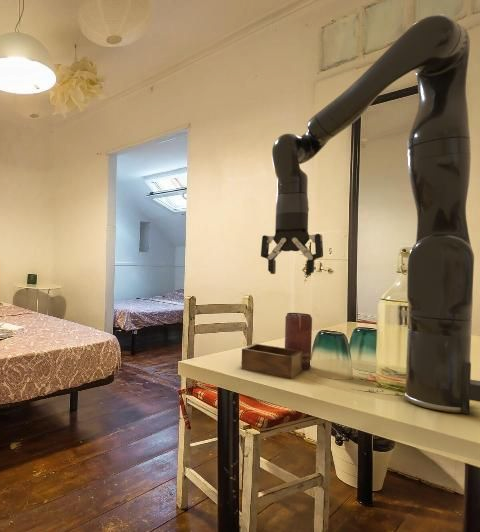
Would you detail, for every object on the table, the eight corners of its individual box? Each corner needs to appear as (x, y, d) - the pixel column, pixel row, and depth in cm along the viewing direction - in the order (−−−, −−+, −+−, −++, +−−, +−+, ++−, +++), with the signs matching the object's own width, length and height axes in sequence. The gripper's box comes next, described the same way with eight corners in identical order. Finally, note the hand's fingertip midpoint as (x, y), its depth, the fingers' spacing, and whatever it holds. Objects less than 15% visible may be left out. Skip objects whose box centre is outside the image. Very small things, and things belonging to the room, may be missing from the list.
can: (288, 369, 101) (289, 314, 101) (281, 363, 107) (283, 311, 107) (314, 371, 100) (316, 316, 99) (306, 364, 106) (307, 312, 105)
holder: (301, 370, 100) (302, 350, 100) (291, 378, 93) (291, 357, 93) (254, 362, 108) (255, 343, 108) (241, 368, 101) (241, 348, 100)
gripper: (258, 213, 105) (257, 273, 105) (319, 208, 95) (318, 275, 96) (267, 215, 111) (266, 273, 111) (326, 212, 101) (324, 275, 101)
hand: (290, 274), depth 103 cm, fingers open, 8 cm apart
